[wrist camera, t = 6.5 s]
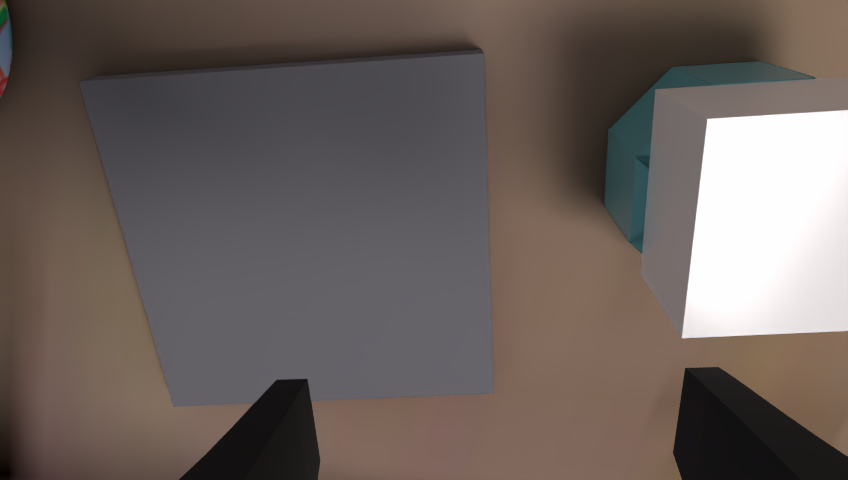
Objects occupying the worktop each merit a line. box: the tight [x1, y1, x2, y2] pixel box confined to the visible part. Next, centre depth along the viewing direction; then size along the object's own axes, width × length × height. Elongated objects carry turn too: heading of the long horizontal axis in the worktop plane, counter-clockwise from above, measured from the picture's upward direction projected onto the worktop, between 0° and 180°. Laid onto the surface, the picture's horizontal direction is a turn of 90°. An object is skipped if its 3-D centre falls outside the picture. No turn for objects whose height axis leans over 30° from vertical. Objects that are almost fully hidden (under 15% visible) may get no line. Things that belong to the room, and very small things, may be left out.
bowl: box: [604, 61, 816, 253], centre depth 18 cm, size 6×6×3 cm
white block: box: [640, 77, 848, 338], centre depth 15 cm, size 5×5×3 cm
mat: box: [79, 49, 494, 406], centre depth 21 cm, size 12×12×1 cm
